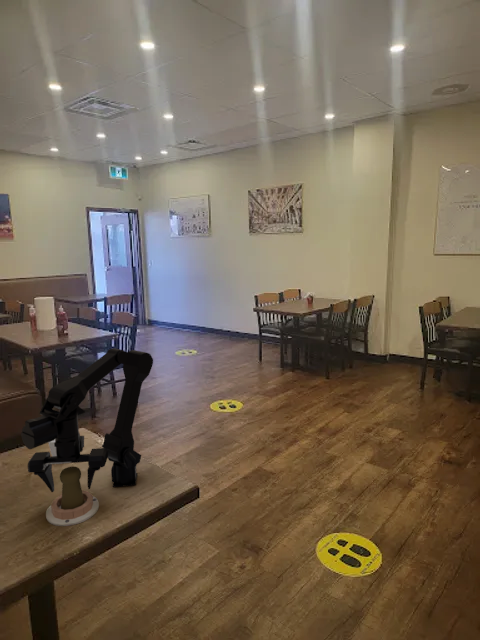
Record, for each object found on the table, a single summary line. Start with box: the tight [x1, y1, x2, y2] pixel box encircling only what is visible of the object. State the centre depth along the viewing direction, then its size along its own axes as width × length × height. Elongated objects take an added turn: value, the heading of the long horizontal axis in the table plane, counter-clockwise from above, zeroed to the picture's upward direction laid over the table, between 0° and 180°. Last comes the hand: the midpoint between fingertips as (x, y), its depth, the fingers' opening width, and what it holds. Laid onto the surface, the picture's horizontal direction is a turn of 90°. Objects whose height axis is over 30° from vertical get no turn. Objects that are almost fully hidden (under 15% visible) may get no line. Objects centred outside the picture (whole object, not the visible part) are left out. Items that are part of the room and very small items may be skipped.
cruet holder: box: [45, 489, 100, 527], centre depth 114 cm, size 13×13×3 cm
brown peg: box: [59, 465, 85, 510], centre depth 114 cm, size 6×6×11 cm
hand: (71, 489), depth 114 cm, fingers open, 9 cm apart
